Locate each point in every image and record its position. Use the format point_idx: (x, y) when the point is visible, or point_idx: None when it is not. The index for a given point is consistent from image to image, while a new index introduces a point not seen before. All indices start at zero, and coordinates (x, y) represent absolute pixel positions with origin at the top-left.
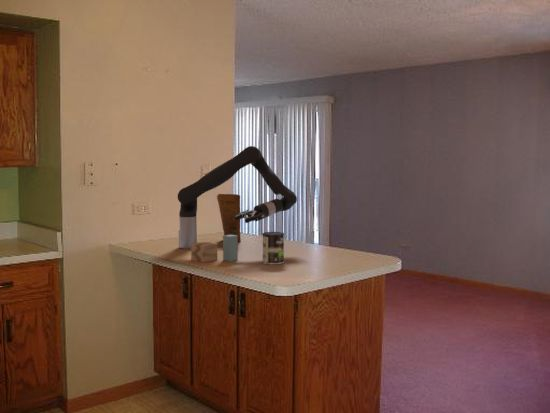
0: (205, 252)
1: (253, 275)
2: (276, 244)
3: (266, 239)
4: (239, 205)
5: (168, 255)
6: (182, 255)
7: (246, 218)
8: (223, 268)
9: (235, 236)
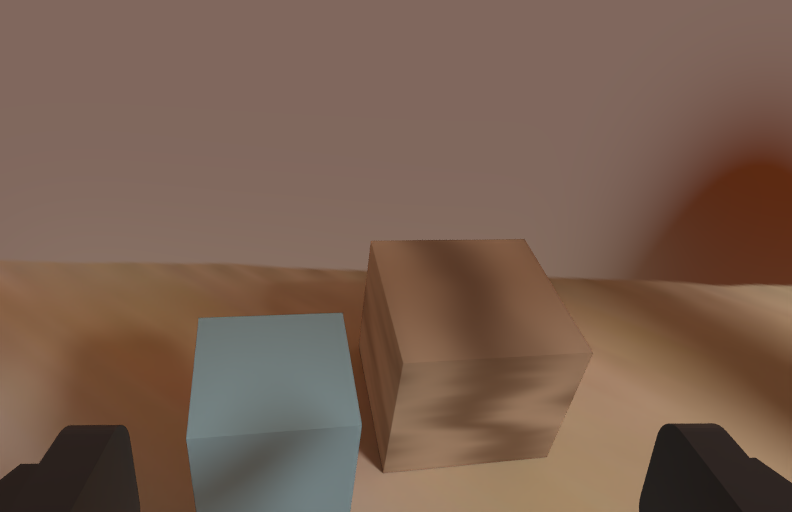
0: (369, 305)
1: None
2: None
3: None
4: None
5: (736, 330)
6: (710, 385)
7: (69, 458)
8: (59, 318)
9: (191, 408)
